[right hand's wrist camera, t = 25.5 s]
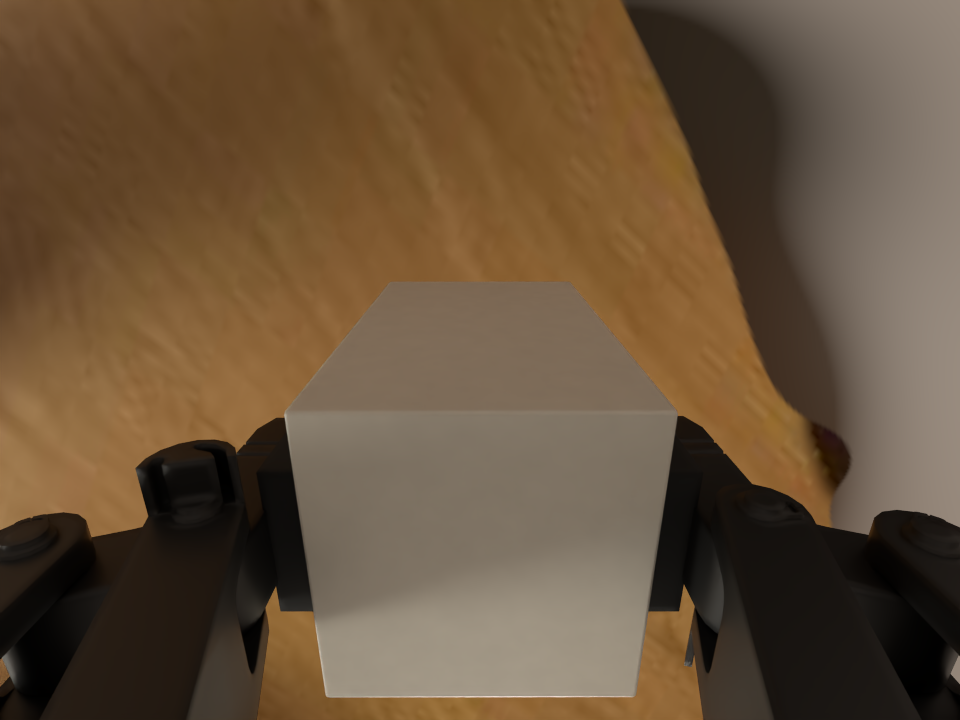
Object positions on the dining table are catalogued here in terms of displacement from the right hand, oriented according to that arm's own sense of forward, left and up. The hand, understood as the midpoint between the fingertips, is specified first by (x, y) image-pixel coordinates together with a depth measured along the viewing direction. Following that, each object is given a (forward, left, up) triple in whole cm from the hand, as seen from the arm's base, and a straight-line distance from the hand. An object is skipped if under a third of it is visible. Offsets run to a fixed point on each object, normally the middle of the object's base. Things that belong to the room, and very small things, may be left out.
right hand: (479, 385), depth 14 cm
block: (0, 0, -1) cm, 1 cm away
